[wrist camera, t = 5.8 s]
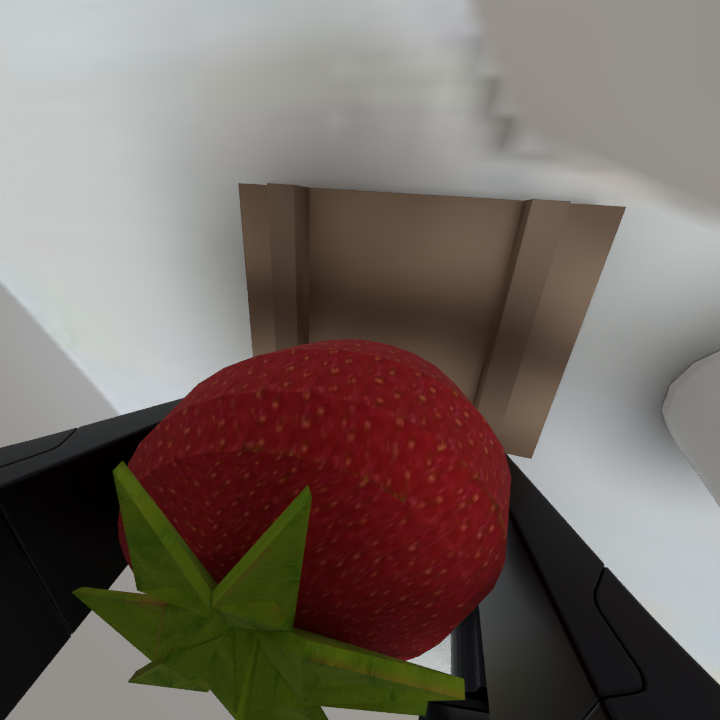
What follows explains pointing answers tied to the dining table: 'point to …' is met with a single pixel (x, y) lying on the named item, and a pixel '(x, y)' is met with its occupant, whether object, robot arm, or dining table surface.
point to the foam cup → (697, 419)
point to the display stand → (431, 285)
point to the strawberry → (310, 532)
